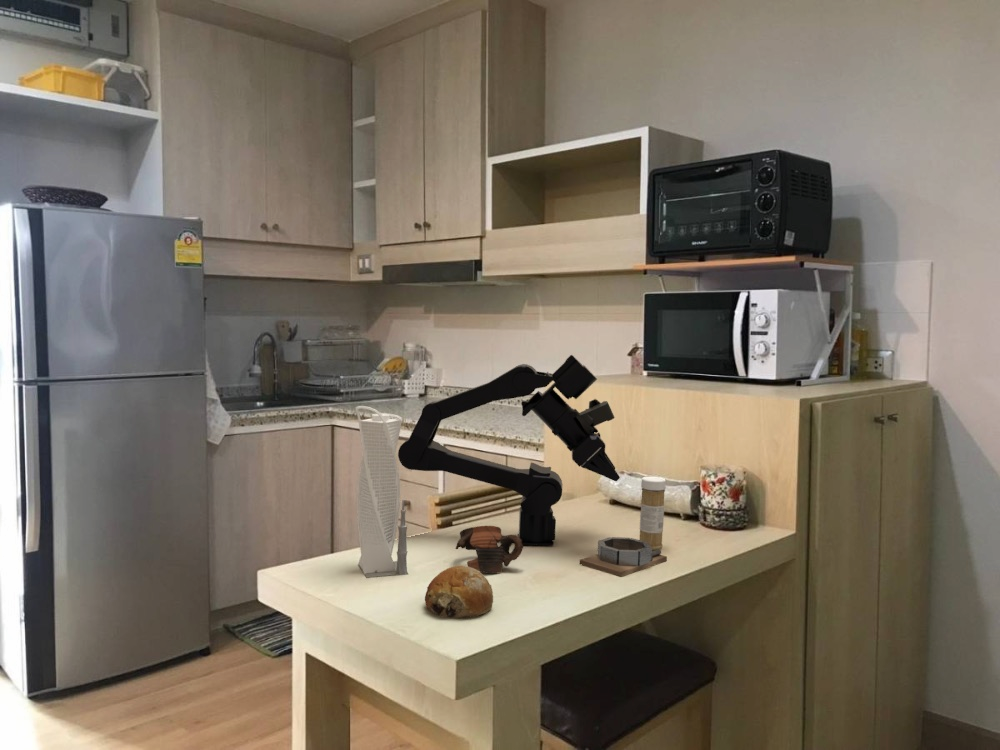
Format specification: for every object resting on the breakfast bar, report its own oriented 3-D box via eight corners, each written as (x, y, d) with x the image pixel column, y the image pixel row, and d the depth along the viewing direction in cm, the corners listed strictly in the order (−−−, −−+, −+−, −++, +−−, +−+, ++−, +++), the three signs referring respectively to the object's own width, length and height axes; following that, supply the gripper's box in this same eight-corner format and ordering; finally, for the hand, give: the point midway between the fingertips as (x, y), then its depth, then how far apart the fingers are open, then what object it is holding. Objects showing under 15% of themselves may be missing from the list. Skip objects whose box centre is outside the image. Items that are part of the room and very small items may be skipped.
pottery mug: (450, 576, 136) (447, 528, 140) (468, 586, 144) (465, 540, 148) (519, 565, 133) (514, 516, 137) (534, 575, 142) (529, 529, 145)
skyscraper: (357, 580, 132) (361, 408, 130) (348, 565, 139) (351, 403, 137) (408, 576, 135) (412, 408, 133) (396, 561, 143) (400, 402, 140)
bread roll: (495, 638, 119) (515, 586, 120) (441, 621, 113) (464, 566, 115) (458, 616, 127) (478, 568, 128) (406, 599, 121) (428, 548, 123)
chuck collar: (630, 569, 139) (630, 554, 139) (588, 556, 146) (589, 543, 145) (666, 556, 147) (667, 543, 147) (625, 545, 154) (625, 532, 153)
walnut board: (621, 576, 138) (621, 572, 138) (579, 564, 144) (579, 559, 144) (666, 560, 148) (666, 556, 148) (625, 549, 154) (625, 545, 154)
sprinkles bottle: (648, 542, 159) (652, 474, 158) (667, 548, 156) (671, 479, 155) (633, 546, 156) (636, 477, 155) (651, 552, 153) (655, 481, 152)
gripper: (592, 391, 145) (653, 453, 145) (586, 382, 164) (640, 438, 164) (547, 434, 146) (608, 496, 146) (546, 421, 165) (600, 476, 165)
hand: (615, 474), depth 155 cm, fingers open, 9 cm apart
